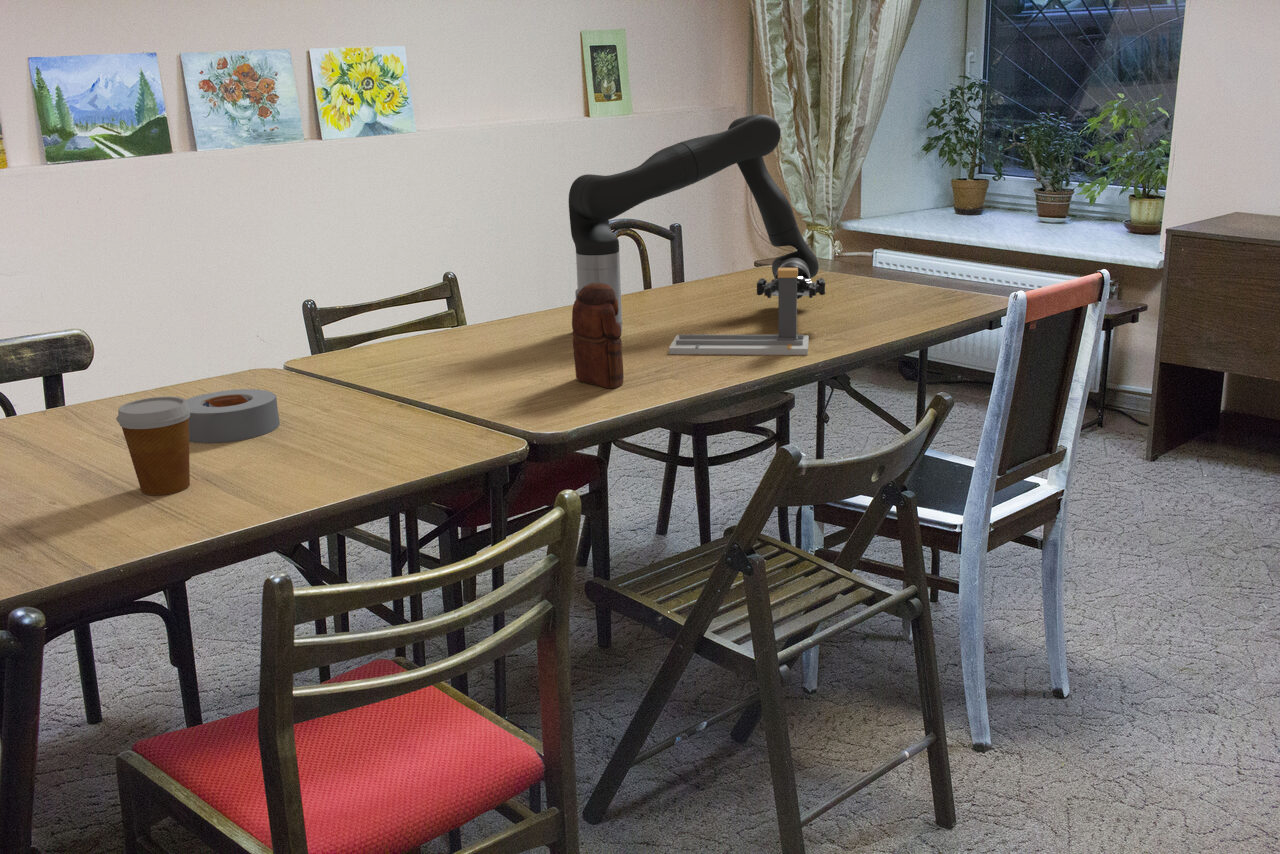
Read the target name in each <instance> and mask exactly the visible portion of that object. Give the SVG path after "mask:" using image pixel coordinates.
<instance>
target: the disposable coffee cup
mask: <svg viewBox="0 0 1280 854" xmlns="http://www.w3.org/2000/svg"><path fill="white" fill-rule="evenodd" d="M190 413H191V408H190V407H189V406H188V404H187V402H186V399H185V398H183V397H180V396H155V397H147V398H143V399H142V398H141V399H136V400H134V401H133V400H132V401H130V402H126V403H125V404H122V405H121V406H119V408H118V412H117V416H116V418H115V419H116V422H117V423H118V424H119V426H120V427H121V430H122V432H123V436H124V439H125V442H126V445H127V448H128V451H129V455H130V458H131V462H132V465H133V468H134V471H135V475H136V477H137V481H138V484H139V487H140V491H141V493H142V494H144V495H148V496H167V495H170V494H171V495H172V494H176V493H179V492H181V491H184V490H185V489H186V490H187V488H189V486H190V485H191V483H190V481H191V480H190V479H191V478H190V477H191V476H190V475H191V474H190V467H191V466H190V441H189V417H190Z"/></svg>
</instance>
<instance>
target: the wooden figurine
mask: <svg viewBox="0 0 1280 854" xmlns="http://www.w3.org/2000/svg"><path fill="white" fill-rule="evenodd" d="M618 311H619V309H618V300H617V298H616V295H615V291H614V289H613V288H612V287H611V286H609V285H607V284H604V283H591V284H588V285H586V286H584V287H583V288H582V289H581V290H580V291H579V293H578V295H577V299H576V298H575V300H574V302H573V305H572V313H571V314H572V315H571V329H572V349H573V350H572V351H573V359H574V360H573V361H574V367H575V368H574V369H575V379H576V380H578V381H579V382H582V383H585V384H590V385H594V386H598V387H602V388H605V389H616V388H618V387H620V386H622V385H623V384H624V378H625V377H624V362H623V347H622V346H623V345H622V344H623V343H622V338H621V337H622V332H621V325H620V323H618V322H617V321H616V317H615V316H617V314H618Z"/></svg>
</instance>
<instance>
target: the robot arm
mask: <svg viewBox="0 0 1280 854" xmlns="http://www.w3.org/2000/svg"><path fill="white" fill-rule="evenodd" d="M781 136H782V133H781V128H780V125H779V123H778V122H777V120H775V119H774V118H773V117H771V116H769V115H767V114H761V113H759V114H756V113H755V114H753V115H747V116H744V117H739V118H736V119H734V120H733V121H732V122H731V123H730V125H729V126H728V128H727V130H725V131H721V132H719V133H713V134H708V135H702V136H699V137H694V138H690V139H687V140H684V141H680V142H678V143H674V144H672V145H669V146H667V147H665V148H662V149H660V150H658V151H656V152H655V153H653V154H652V155H651V156H649V157H648V158H647V159H646V160H645V161H644V162H642V164H641V163H640V165H638V166H636V167H634V168H631V169H629V170H625V171H622V172H619V173H614V174H610V175H602V174H591V173H588V174H582V175H579V176H578V177H577V178H576V179H575V180H574V181H573V182H572V183H571V186H570V189H569V192H568V214H569V215H568V216H569V225H570V233H571V238H572V241H573V243H574V246H575V260H576V263H575V264H576V281H577V282H576V284H577V288H576V289H575V292H574V293H575V300H576V299H577V295H578V293H579V291H580V290H581V289H582V288H583V287H584V286H586V285H588V284H591V283H604V284H607V285H609V286H611V287H612V288H613V289H614V291H615V295H616V298H617V300H618V309H619V311H618V314H617V316H615V317H616V321H617V322H618V323H620V325H621V333H622V332H623V318H622V316H623V315H622V313H623V312H622V310H623V309H622V289H621V287H622V286H621V263H620V262H621V261H620V260H621V259H620V241H619V238H618V237H617V236H616V234H614V232H613V231H612V229H611V226H610V220H612V219H614V218H616V217H618V216H620V215H623V214H624V213H625V212H628V211H629V210H631V209H634V207H636V206H638V205H640V204H642V203H644V202H647V201H649V200H652V199H656V198H658V197H662V196H664V195H665V196H666V195H667V194H670V193H673V192H676V191H678V190H682V189H683V188H684V189H685V188H686V187H689V186H691V185H693V184H696V183H698V182H701V181H702V180H704V179H707V178H708V177H712V175H715V174H717V173H719V172H721V171H722V170H725V169H727V168H729V167H730V166H732V165H733V166H734V165H735V164H736V165H737V167H738V168H739V170H740V173H741V174H742V176H743V178H744V180H745V182H746V184H747V186H748V188H749V190H750V192H751V195H752V196H753V198H754V201H755V202H756V205H757V208H758V210H759V213H760V215H761V219H762V222H763V224H764V228H765V230H766V233H767V235H768V239H769V242H770V244H771V245H772V246H773V247H776V248H777V247H779V248H780V247H793V248H794V249H796V251H791V252H789V253H787V254H783V255H781V256H778V257H776V258H775V259H774V260H773V261H772V264H771V271H772V274H773V277H774V278H773V279H771V281H769V282H767V281H768V280H767V279H766V278H764V277H762V278H760V279H758V281H757V282H756V296H757V295H758V296H761V295H763V296H765V297H767V299H771V297H772V296H775V297H778V291H779V278H778V268H798V277H797V300H799V299H801V298H802V297H808V298H809V299H812V298H813V296H814V297H815V296H817V293H818V294H819V295H820V296H824V295H826V280H825V278H823V277H820V278H818V279H816V281H812V280H811V279H813V278H815V276H816V275H818V272H819V268H820V267H819V265H820V264H819V261H818V258H817V257H816V256H815V254H814V252H813V251H812V249H811V248H810V247H809V246H808V244H807V242H806V241H805V239H804V238H803V235H802V233H801V232H800V229H799V227H798V223H797V219H796V217H795V215H794V211H793V208H792V205H791V204H790V202H789V199H788V198H787V197H786V195H785V194H784V193H783V191H782V190H781V188H780V187H779V186H778V184H777V183H776V181H775V180H774V179H773V178H772V176H771V174H770V173H769V171H768V168H767V166H766V163H765V160H764V157H766V156H767V155H770V153H772V152H773V151H774V150H776V148H778V147H777V146H778V145H779V142H780V139H781Z"/></svg>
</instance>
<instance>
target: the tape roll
mask: <svg viewBox="0 0 1280 854" xmlns="http://www.w3.org/2000/svg"><path fill="white" fill-rule="evenodd" d="M185 400H186V402H187V404H188V406H189V407H190V408H191V413H190V417H189V443H190V442H191V443H199V444H220V443H221V444H222V443H223V444H224V443H231V442H238V441H244V440H249V439H253V438H254V439H255V438H257V437H260V436H264V435H266V434H269V433H272V432H273V431H275V430H276V429H278V428H279V427H280V423H281V422H280V416H279V415H280V414H279V409H278V407H279V406H278V399H277V395H276V393H273V392H272V391H269V390H266V389H265V390H264V389H259V388H237V389H227V390H221V391H214V392H208V393H203V394H199V395H196V396H192V397H189V398H186V399H185Z"/></svg>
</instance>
